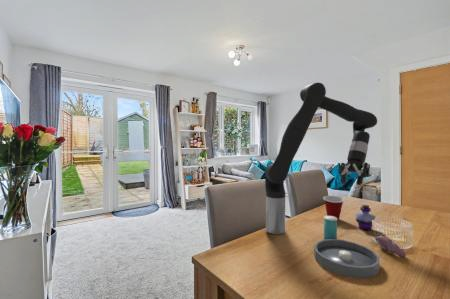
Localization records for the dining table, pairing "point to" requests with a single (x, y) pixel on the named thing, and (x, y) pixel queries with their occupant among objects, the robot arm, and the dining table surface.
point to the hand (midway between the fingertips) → (350, 183)
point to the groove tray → (347, 258)
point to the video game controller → (390, 246)
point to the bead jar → (330, 227)
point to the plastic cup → (333, 205)
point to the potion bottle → (365, 218)
